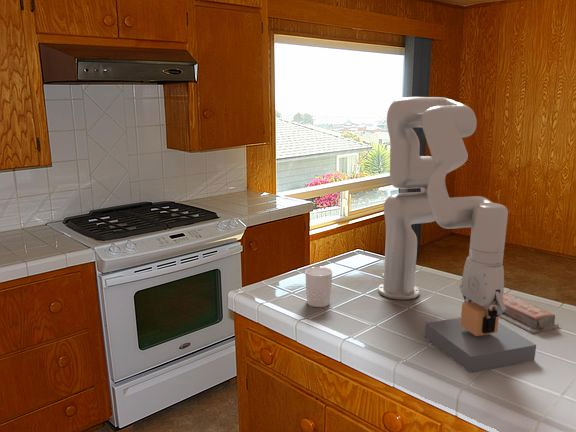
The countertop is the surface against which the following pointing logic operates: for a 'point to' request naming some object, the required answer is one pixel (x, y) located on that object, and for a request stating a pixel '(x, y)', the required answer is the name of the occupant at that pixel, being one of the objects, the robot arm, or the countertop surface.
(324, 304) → the white cup
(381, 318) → the countertop surface
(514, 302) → the packaged product
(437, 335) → the plinth
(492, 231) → the robot arm
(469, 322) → the cube
